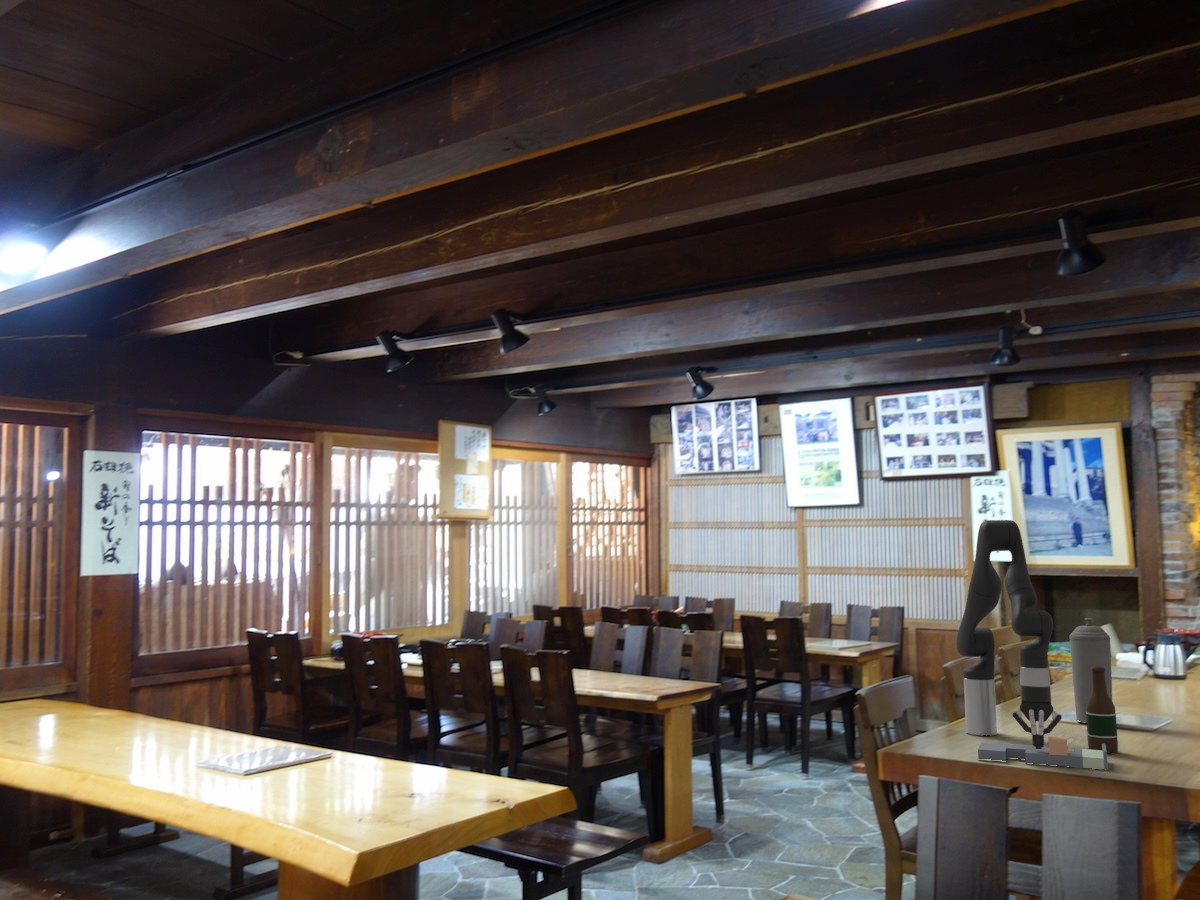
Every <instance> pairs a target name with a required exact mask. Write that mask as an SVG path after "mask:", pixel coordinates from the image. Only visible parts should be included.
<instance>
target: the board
mask: <svg viewBox="0 0 1200 900" xmlns="http://www.w3.org/2000/svg"><path fill="white" fill-rule="evenodd" d="M1067 753H1068V756H1064V755H1049V751H1048V746H1045V745H1044V747H1042V749H1036V747H1034V746H1033V744H1030V745H1028V744H1016V743H1015V744H1014V743H1004V742H1003V743H1000V742H999V743H998V742H989V741H988V742H987V741H981V742H980V744H979V745H978V748H977V757H978V758H977V759H991V760H1002V761H1006V762H1007V760H1006V758H1018V759H1025V760H1026V761H1025V764H1026V763H1033V764H1046V765H1057V766H1069V767H1078V768H1077V769H1082V768H1092V769H1091V770H1095V769H1106V770H1105V771H1109V770H1108V769H1109V767H1108V766H1109V765H1108V754H1107V751H1106V746H1105V744H1102V750H1090V749H1089V748H1087V749H1086V748H1073V751H1069V750H1067ZM1069 767H1068V768H1069Z"/></svg>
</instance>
